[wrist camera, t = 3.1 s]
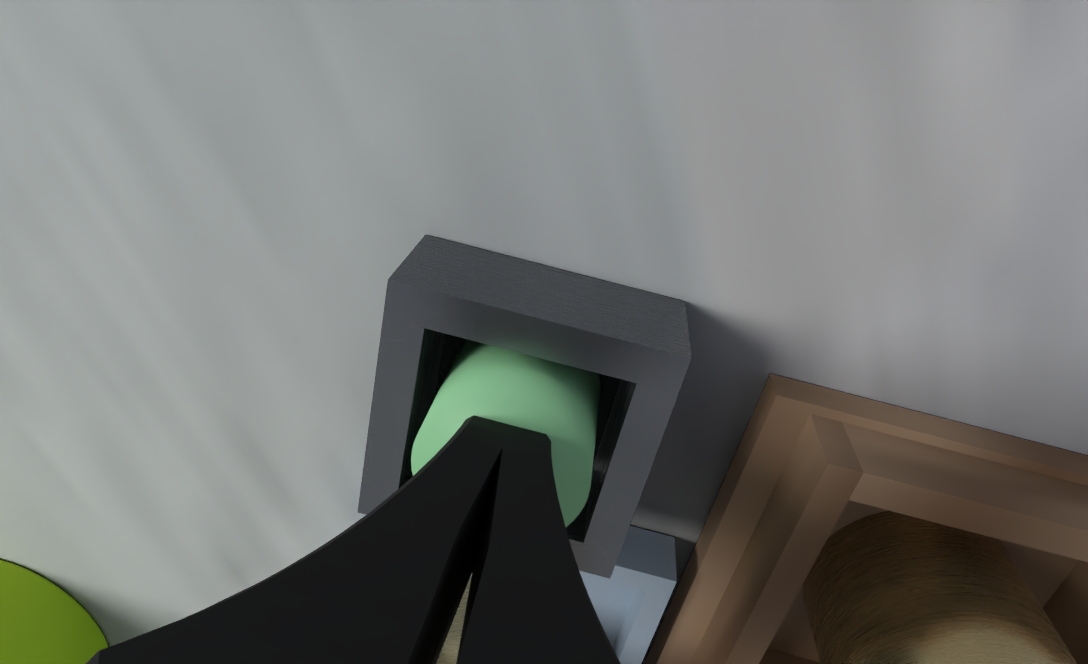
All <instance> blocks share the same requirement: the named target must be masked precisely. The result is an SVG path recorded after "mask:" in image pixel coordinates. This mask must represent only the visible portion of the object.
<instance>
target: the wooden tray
mask: <svg viewBox="0 0 1088 664" xmlns="http://www.w3.org/2000/svg"><path fill="white" fill-rule="evenodd" d="M884 511H893V512H897V513H901V514H904V515H908V516H912V517H916V518H920V519H924V520H927V521H931V522H935V523H939V524H943V525H947V526H950V527H954V528H958V529H962V530H966V531H970V532H973V533H977V534H981V535H985V536H989V537H993V538H996V539H999V540H1000V542H1001V543H1002V544H1003V545H1004V547H1005V549H1006V550H1007V552H1008V554H1009V555H1010V557H1011V558H1012V560H1013V562H1014V563H1015V565H1016V566H1017V568H1018V570H1019V571H1020V573H1021V574H1022V576H1023V578H1024V579H1025V581H1026V582H1027V584H1028V586H1029V587H1030V589H1031V590H1032V592H1033V594H1034V595H1035V597H1036V599H1037V600H1038V602H1039V603H1040V605H1041V607H1042V608H1043V610H1044V611H1045V613H1046V615H1047V616H1048V618H1049V619H1050V621H1051V623H1052V624H1053V626H1054V627H1055V629H1056V631H1057V632H1058V634H1059V636H1060V637H1061V639H1062V640H1063V642H1064V644H1065V645H1066V647H1067V648H1068V650H1069V652H1070V653H1071V655H1072V656H1073V658H1074V660H1075V661H1076V663H1077V664H1088V456H1087V455H1083V454H1079V453H1076V452H1072V451H1068V450H1064V449H1060V448H1056V447H1052V446H1049V445H1045V444H1041V443H1037V442H1033V441H1029V440H1025V439H1021V438H1018V437H1014V436H1010V435H1006V434H1002V433H998V432H994V431H991V430H987V429H983V428H979V427H975V426H971V425H967V424H964V423H960V422H956V421H952V420H948V419H944V418H940V417H936V416H933V415H929V414H925V413H921V412H917V411H913V410H909V409H906V408H902V407H898V406H894V405H890V404H886V403H882V402H879V401H875V400H871V399H867V398H863V397H859V396H855V395H852V394H848V393H844V392H840V391H836V390H832V389H828V388H824V387H821V386H817V385H813V384H809V383H805V382H801V381H797V380H794V379H790V378H786V377H782V376H778V375H774V374H770V375H769V378H768V380H767V382H766V384H765V387H764V389H763V391H762V394H761V396H760V398H759V401H758V403H757V405H756V407H755V410H754V412H753V414H752V417H751V419H750V421H749V424H748V426H747V428H746V430H745V433H744V435H743V437H742V440H741V442H740V444H739V447H738V449H737V451H736V453H735V456H734V458H733V460H732V463H731V465H730V467H729V470H728V472H727V474H726V476H725V479H724V481H723V483H722V486H721V488H720V490H719V493H718V495H717V497H716V500H715V502H714V504H713V506H712V509H711V511H710V513H709V516H708V518H707V520H706V523H705V525H704V527H703V529H702V532H701V534H700V536H699V539H698V541H697V543H696V546H695V548H694V550H693V552H692V555H691V557H690V559H689V562H688V564H687V566H686V569H685V571H684V573H683V575H682V578H681V580H680V582H679V585H678V587H677V589H676V592H675V594H674V596H673V598H672V601H671V603H670V605H669V608H668V610H667V612H666V615H665V617H664V619H663V621H662V624H661V626H660V628H659V631H658V633H657V635H656V638H655V640H654V642H653V644H652V647H651V649H650V651H649V654H648V656H647V658H646V661H645V663H644V664H820V662H819V658H818V654H817V650H816V646H815V642H814V638H813V634H812V630H811V626H810V622H809V618H808V614H807V610H806V606H805V602H804V598H803V590H802V585H803V582H804V581H805V579H806V577H807V575H808V573H809V571H810V570H811V568H812V566H813V564H814V562H815V561H816V559H817V557H818V555H819V553H820V551H821V550H822V548H823V546H824V544H825V542H826V540H827V539H828V538H829V537H830V536H831V535H832V534H834V533H835V532H837V531H838V530H839V529H841V528H842V527H844V526H846V525H848V524H850V523H852V522H854V521H856V520H859V519H861V518H863V517H866V516H869V515H872V514H876V513H879V512H884Z"/></svg>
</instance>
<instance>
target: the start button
mask: <svg viewBox="0 0 1088 664" xmlns="http://www.w3.org/2000/svg"><path fill="white" fill-rule="evenodd" d="M600 394H601V385H600V378H599V373H595V372H591V371H587V370H584V369H580V368H576V367H572V366H568V365H564V364H560V363H557V362H553V361H549V360H545V359H541V358H537V357H533V356H530V355H526V354H522V353H518V352H514V351H510V350H507V349H503V348H499V347H495V346H491V345H487V344H483V343H480V342H476V341H472V340H468V339H467V340H466V341H465V343H464V344H463V345H462V346H461V348H460V350H459V351H458V353H457V355H456V357H455V359H454V361H453V363H452V365H451V367H450V369H449V371H448V373H447V375H446V377H445V379H444V381H443V383H442V385H441V387H440V389H439V391H438V393H437V395H436V397H435V399H434V401H433V403H432V405H431V407H430V410H429V412H428V414H427V416H426V418H425V420H424V422H423V424H422V426H421V428H420V430H419V432H418V434H417V436H416V438H415V441H414V444H413V448H412V454H411V468H412V474H413V476H414V475H415V474H416V473H417V472H418V471H419V470H420V469H421V468H422V467H423V466H424V465H425V464H426V463H427V462H428V461H429V460H431V459H432V458H433V457H434V456H435V455H436V454H437V452H438V451H439V450H440V449H441V448H442V447H443V446H444V445H445V444H446V443H447V442H448V441H449V440H450V439H451V437H452V436H453V435H454V434H455V433H456V432H457V430H458V429H459V428H460V427H461V425H462V424H463V423H464V421H465V420H466V419H467V418H469V417H471V416H473V415H475V416H479V417H482V418H486V419H490V420H494V421H498V422H502V423H505V424H509V425H513V426H517V427H521V428H525V429H529V430H533V431H537V432H540V433H544V434H547V436H548V437H549V439H550V440H551V456H552V466H553V473H554V479H555V485H556V490H557V495H558V500H559V504H560V508H561V512H562V516H563V519H564V523H565V527H567V526H568V525H569V524H570V523H572V522H573V521H574V520H575V518H576V517H577V516H578V515H579V514H580V512H581V511H582V509H583V507H584V506H585V503H586V501H587V499H588V496H589V492H590V487H591V478H592V468H593V459H594V450H595V441H596V432H597V423H598V413H599V404H600Z"/></svg>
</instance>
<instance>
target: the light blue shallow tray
mask: <svg viewBox="0 0 1088 664" xmlns="http://www.w3.org/2000/svg"><path fill="white" fill-rule="evenodd" d="M364 516H366V514H364ZM580 574H581V577H582V579H583V582H584V585H585V587H586V590H587V592H588V595H589V597H590V600H591V602H592V604H593V607H594V609H595V611H596V614H597V616H598V618H599V620H600V623H601V625H602V627H603V629H604V631H605V633H606V635H607V637H608V639H609V641H610V643H611V646H612V648H613V650H614V652H615V654H616V656H617V658H618V659H619V661H620V663H621V664H641V663H642V661H643V659H644V656H645V654H646V652H647V649H648V647H649V645H650V642H651V640H652V638H653V635H654V633H655V631H656V628H657V626H658V624H659V622H660V619H661V617H662V615H663V612H664V610H665V608H666V605H667V603H668V601H669V598H670V596H671V594H672V591H673V589H674V587H675V584H676V582H677V577H676V556H675V537H671V536H667V535H663V534H660V533H656V532H652V531H648V530H644V529H641V528H637V527H633V526H629V529H628V532H627V535H626V537H625V540H624V543H623V545H622V548H621V551H620V554H619V556H618V559H617V562H616V564H615V567H614V570H613V572H612V575H611V578H610V579H609V578H606V577H602V576H598V575H594V574H590V573H587V572H583V571H580ZM470 577H472V574H471V576H470Z"/></svg>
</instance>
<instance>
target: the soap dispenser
mask: <svg viewBox="0 0 1088 664" xmlns="http://www.w3.org/2000/svg"><path fill="white" fill-rule="evenodd" d="M105 648H108V644H107V642H106V640H105V637H104V636H103V634H102V632H101V630H100V629H99V627H98V625H97V624H96V623H95V621H94V620H93V619H92V617H91V616H90V615H89V614H88V613H87V612H86V611H85V609H84V608H83V607H82V606H81V605H80V604H79V603H77V602H76V601H75V600H74V599H73V598H72V597H71V596H69V595H68V594H67V593H66V592H64V591H63V590H62V589H60V588H59V587H57V586H56V585H54V584H53V583H51V582H50V581H48V580H46V579H45V578H43V577H41V576H39V575H37V574H35V573H34V572H31V571H29V570H27V569H25V568H23V567H20V566H18V565H15V564H12V563H9V562H6V561H3V560H0V664H86V663H87V662H88V661H89V660H90V659H91V658H92V657H93V656H94V655H95V654H96V653H97V652H98V651H100V650H102V649H105Z"/></svg>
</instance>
